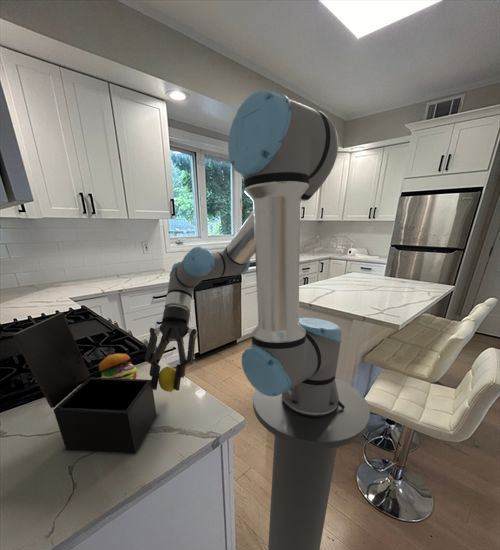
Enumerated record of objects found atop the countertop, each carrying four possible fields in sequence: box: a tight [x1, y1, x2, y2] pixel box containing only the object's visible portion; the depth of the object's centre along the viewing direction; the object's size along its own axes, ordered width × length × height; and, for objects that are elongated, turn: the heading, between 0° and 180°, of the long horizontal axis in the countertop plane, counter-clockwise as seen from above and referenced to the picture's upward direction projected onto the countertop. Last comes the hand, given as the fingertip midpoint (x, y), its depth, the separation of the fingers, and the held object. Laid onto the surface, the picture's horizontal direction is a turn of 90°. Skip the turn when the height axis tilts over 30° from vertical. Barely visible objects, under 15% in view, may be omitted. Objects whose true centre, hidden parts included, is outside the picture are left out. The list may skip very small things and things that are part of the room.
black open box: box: [53, 376, 158, 454], centre depth 64 cm, size 16×13×11 cm
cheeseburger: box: [98, 353, 138, 379], centre depth 86 cm, size 10×11×10 cm
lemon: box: [158, 366, 176, 393], centre depth 76 cm, size 6×6×8 cm
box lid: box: [12, 312, 91, 409], centre depth 59 cm, size 16×13×1 cm
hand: (164, 388), depth 73 cm, fingers closed on lemon, 5 cm apart
